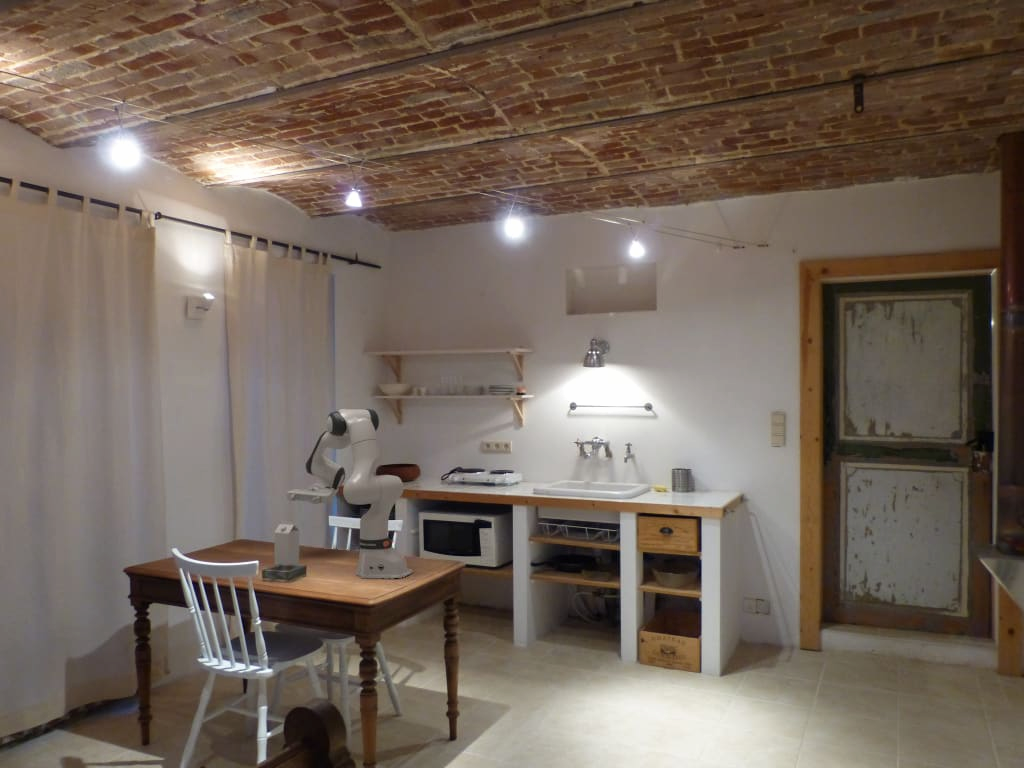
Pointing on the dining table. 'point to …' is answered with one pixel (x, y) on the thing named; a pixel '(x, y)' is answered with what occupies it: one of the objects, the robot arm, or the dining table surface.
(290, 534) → the milk carton
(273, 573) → the square glass ashtray
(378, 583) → the dining table surface
